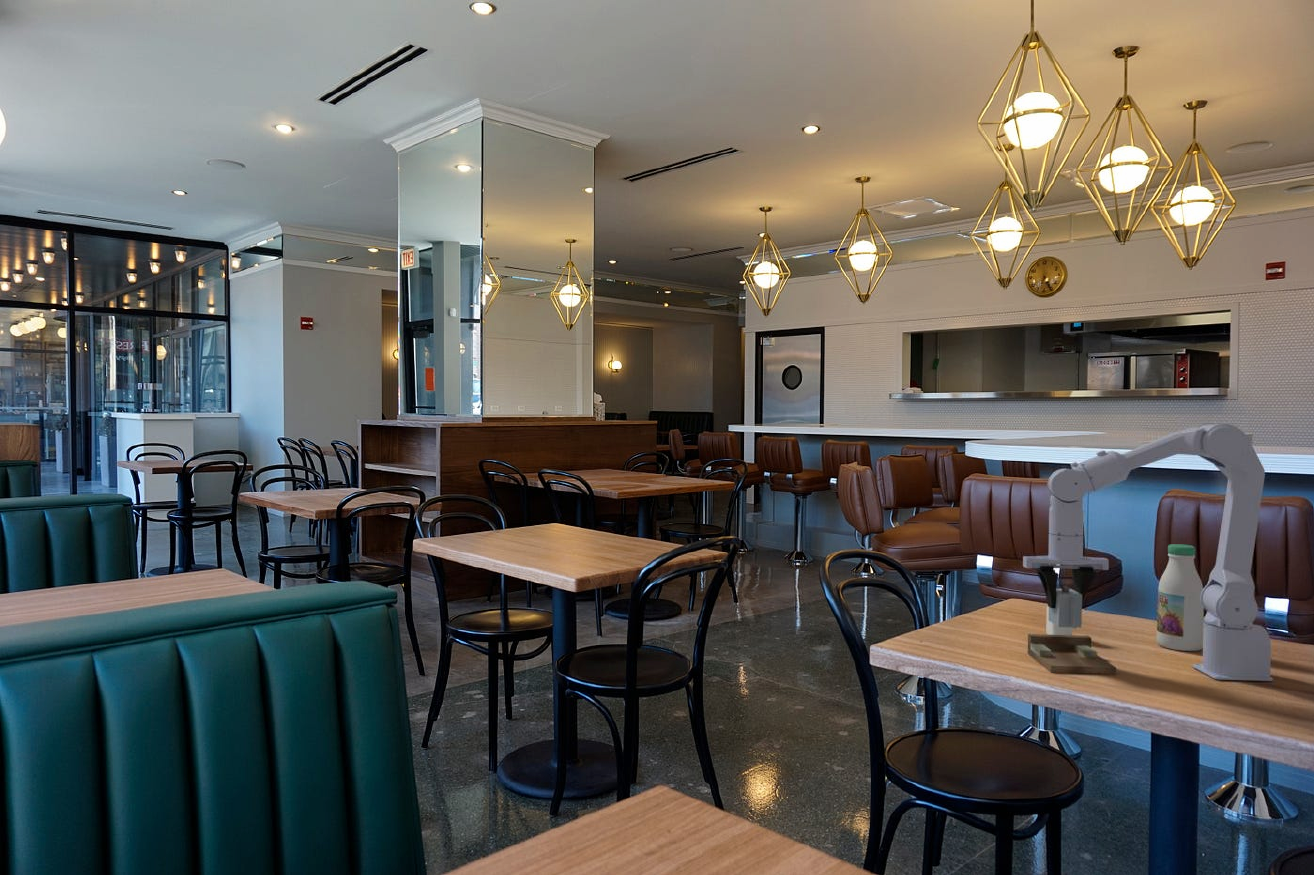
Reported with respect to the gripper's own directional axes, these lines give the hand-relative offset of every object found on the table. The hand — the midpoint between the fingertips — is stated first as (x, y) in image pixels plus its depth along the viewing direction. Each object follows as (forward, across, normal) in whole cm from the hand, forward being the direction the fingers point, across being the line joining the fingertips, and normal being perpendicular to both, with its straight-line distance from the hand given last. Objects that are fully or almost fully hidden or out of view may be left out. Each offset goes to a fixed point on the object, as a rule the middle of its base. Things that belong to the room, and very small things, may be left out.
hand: (1064, 607), depth 158 cm
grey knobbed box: (+3, 0, +1) cm, 3 cm away
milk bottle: (+10, -26, -12) cm, 31 cm away
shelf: (+10, 0, +2) cm, 10 cm away
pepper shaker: (+10, -6, -17) cm, 21 cm away
